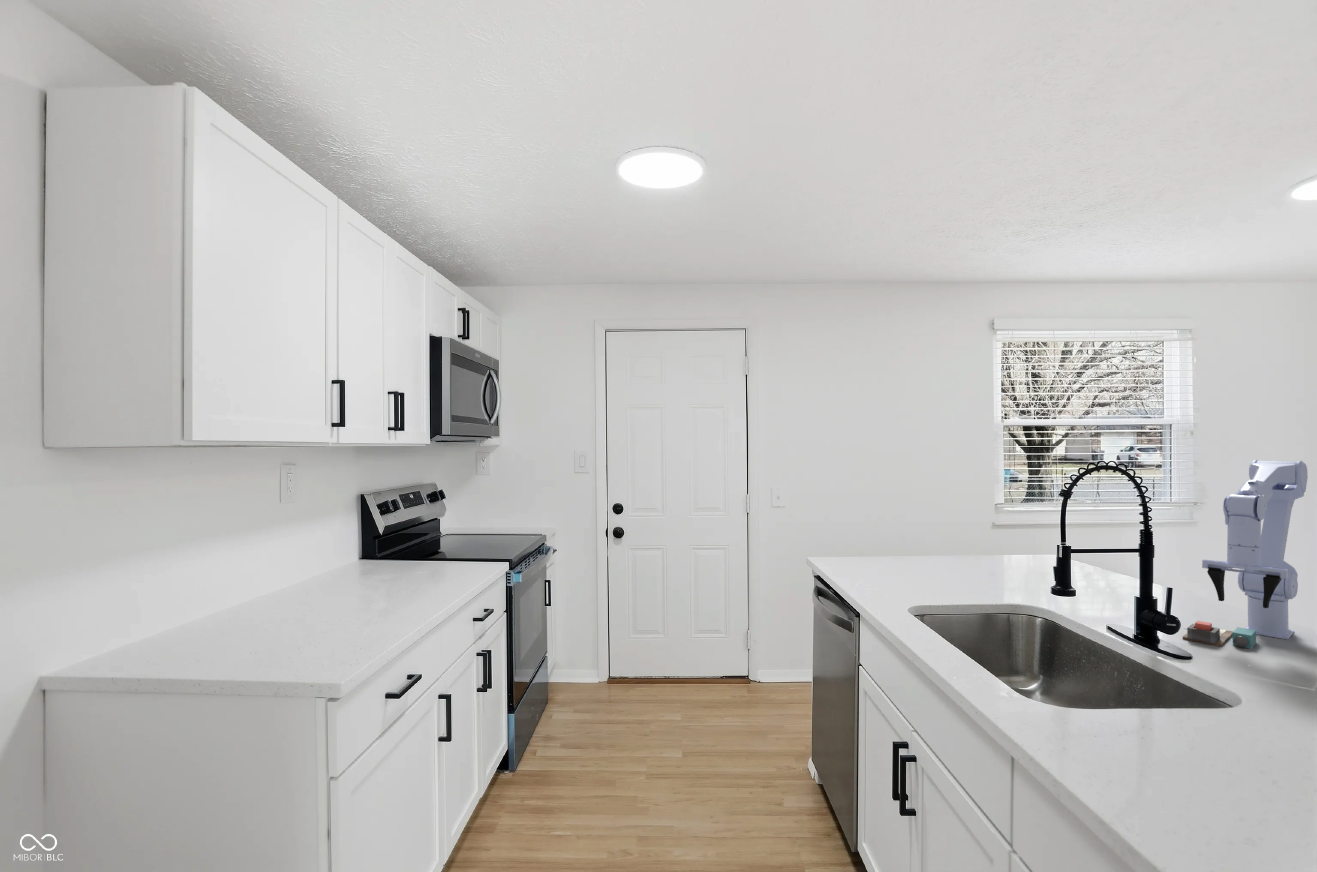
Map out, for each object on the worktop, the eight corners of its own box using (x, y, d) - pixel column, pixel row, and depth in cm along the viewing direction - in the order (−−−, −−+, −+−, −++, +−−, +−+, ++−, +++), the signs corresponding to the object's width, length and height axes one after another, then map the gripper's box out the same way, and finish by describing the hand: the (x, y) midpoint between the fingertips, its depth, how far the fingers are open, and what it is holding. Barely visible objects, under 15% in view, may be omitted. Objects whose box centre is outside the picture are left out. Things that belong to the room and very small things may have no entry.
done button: (1197, 630, 150) (1197, 620, 150) (1212, 633, 148) (1211, 623, 148) (1195, 632, 148) (1194, 622, 148) (1209, 635, 146) (1209, 625, 146)
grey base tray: (1197, 627, 158) (1197, 615, 158) (1234, 633, 153) (1233, 621, 153) (1182, 639, 149) (1181, 626, 149) (1220, 646, 144) (1220, 633, 144)
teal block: (1237, 640, 149) (1237, 626, 149) (1256, 643, 146) (1256, 630, 146) (1231, 647, 144) (1231, 633, 144) (1250, 650, 142) (1249, 636, 142)
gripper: (1199, 542, 149) (1198, 599, 148) (1284, 551, 138) (1283, 612, 137) (1206, 541, 153) (1205, 596, 153) (1289, 549, 142) (1289, 609, 141)
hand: (1243, 603), depth 145 cm, fingers open, 7 cm apart
